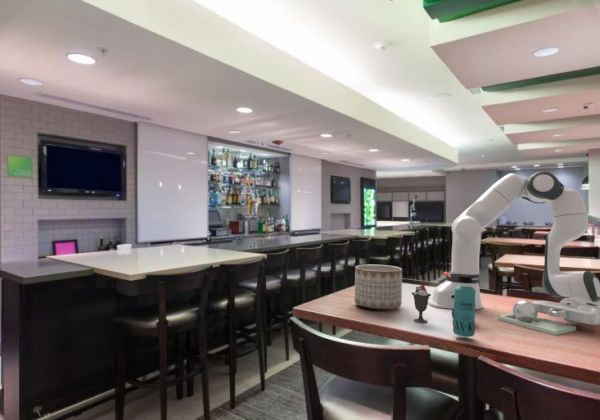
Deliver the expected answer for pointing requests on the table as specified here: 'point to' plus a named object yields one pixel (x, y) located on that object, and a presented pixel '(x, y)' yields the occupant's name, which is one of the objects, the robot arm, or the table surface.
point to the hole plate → (540, 325)
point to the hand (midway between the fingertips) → (551, 314)
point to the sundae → (421, 302)
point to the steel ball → (525, 311)
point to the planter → (378, 286)
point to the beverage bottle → (464, 308)
